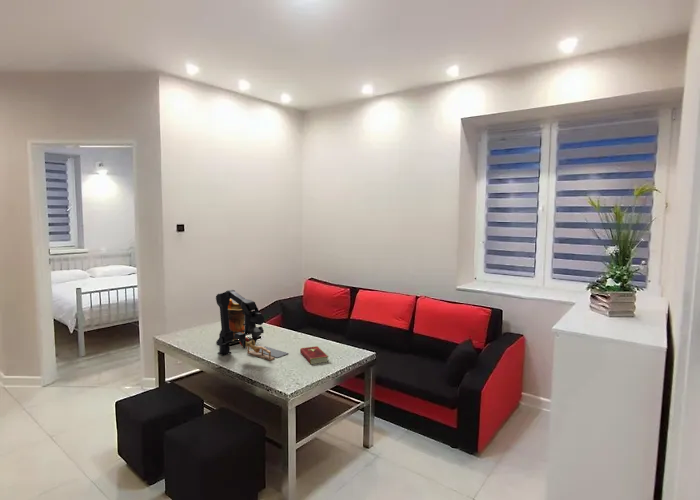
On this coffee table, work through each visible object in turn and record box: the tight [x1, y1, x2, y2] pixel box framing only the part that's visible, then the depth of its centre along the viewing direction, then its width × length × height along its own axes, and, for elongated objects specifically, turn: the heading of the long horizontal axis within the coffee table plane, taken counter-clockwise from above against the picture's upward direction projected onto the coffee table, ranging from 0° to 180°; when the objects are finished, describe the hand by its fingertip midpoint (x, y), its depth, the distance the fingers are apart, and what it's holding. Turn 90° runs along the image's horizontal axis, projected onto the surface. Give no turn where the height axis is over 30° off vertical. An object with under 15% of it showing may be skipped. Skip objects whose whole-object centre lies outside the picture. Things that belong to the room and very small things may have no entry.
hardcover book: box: [299, 345, 329, 365], centre depth 259 cm, size 12×21×4 cm, turn 24°
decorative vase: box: [228, 298, 251, 342], centre depth 295 cm, size 21×23×28 cm
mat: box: [259, 345, 289, 359], centre depth 267 cm, size 22×10×1 cm, turn 55°
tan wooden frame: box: [246, 345, 275, 361], centre depth 259 cm, size 21×4×6 cm, turn 55°
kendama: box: [239, 337, 260, 353], centre depth 248 cm, size 8×6×18 cm
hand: (249, 346), depth 249 cm, fingers closed on kendama, 7 cm apart
